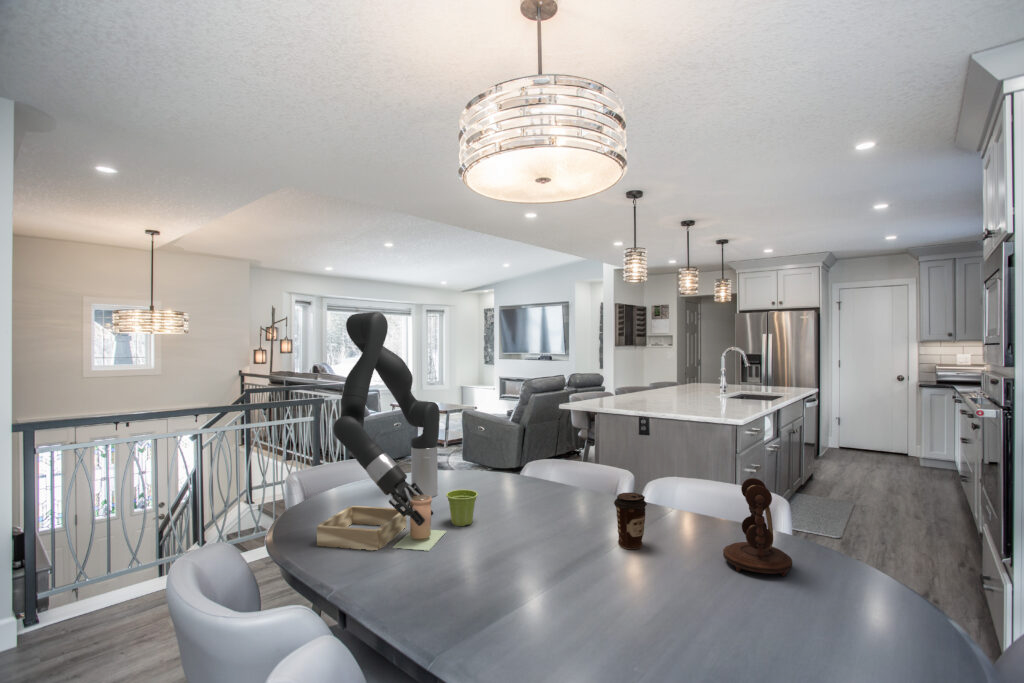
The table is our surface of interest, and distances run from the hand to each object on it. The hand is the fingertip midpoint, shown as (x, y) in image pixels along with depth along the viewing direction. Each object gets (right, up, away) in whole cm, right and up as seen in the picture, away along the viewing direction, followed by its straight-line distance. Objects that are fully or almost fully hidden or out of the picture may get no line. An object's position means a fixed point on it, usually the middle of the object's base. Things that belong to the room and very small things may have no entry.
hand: (426, 519), depth 138 cm
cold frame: (-18, -6, +4) cm, 19 cm away
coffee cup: (+55, -5, -5) cm, 55 cm away
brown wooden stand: (+81, -5, -18) cm, 84 cm away
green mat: (-2, -6, 0) cm, 6 cm away
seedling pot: (-2, -4, 0) cm, 5 cm away
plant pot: (+8, -6, +13) cm, 17 cm away
